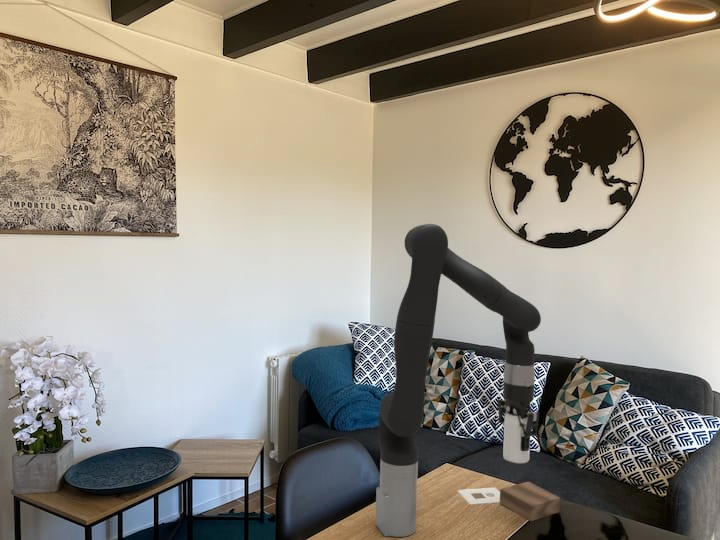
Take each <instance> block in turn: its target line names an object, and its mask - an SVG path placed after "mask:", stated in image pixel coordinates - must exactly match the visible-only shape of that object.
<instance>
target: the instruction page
mask: <svg viewBox="0 0 720 540" xmlns="http://www.w3.org/2000/svg"><path fill="white" fill-rule="evenodd" d="M456 492H458V494H459V495H460V496H461V498H463V499H464V500H465V501H466V502H467V503H468V504H469V505H470V506H473V505H485V504H500V490H499V489H497V487H495V486H494V487H482V488H471V489H469V488H467V489H458V490H456Z"/></svg>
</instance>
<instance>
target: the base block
mask: <svg viewBox="0 0 720 540" xmlns="http://www.w3.org/2000/svg"><path fill="white" fill-rule="evenodd" d="M499 491H500V503H499V504H500V505H502V506H504V507H505V508H507V509H509V510H510V511H512V512H514V513H516V514H517V515H519V516H521V517H522V518H524V519H526V520H528V521H530V522H533V521H536V520H539V519H542V518H546V517H549V516H551V515H554V514H558V513H560V511H561V510H560V509H561V497H560V496H558V495H556V494H554V493H552V492H550V491H548V490H546V489H544V488H542V487H540V486H538V485H536V484H534V483H532V482H530V481H526V482H521V483H518V484H513V485H510V486H506V487H502V488H500V490H499Z"/></svg>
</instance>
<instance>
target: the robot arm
mask: <svg viewBox="0 0 720 540" xmlns="http://www.w3.org/2000/svg"><path fill="white" fill-rule="evenodd" d="M403 244H404V248H405V251H406V253H407V254H408V256H409V257H410V258H411V267H410V276H409V281H408V285H407V288H406V290H405V292H404V295H403V297H402V300H401V302H400V305H399V309H398V312H397V316H396V322H395V329H394V336H393V337H394V338H393V340H394V341H393V344H394V345H393V348H394V350H393V351H394V359H395V360H394V361H395V372H396V373H395V374H396V376H395V382H394V383H395V384H394V390H393V391H392V392H389V393H388V394H386V395H385V396H384V398H383V399H382V400H381V403H380V406H379V411H378V445H379V449H380V464H379V468H380V469H379V486H377V487H376V494H375V495H376V496H375V521H374V522H375V526H376V527H377V528H378V530H379V531H380V532H381V533H382V534H383V536H384V537H394V538H397V537H398V538H402V537H403V538H404V537H407V536H411V535H413V534H414V533H415V532H416V528H417V504H418V503H417V502H418V501H417V500H418V499H417V498H418V497H417V496H418V471H419V470H418V469H419V468H418V467H419V448H418V445H417V441H416V437H415V436H416V435H415V434H416V433H417V432H418V431H419V430H420V428H421V426H422V424H423V421H424V413H425V389H426V380H427V379H426V378H427V371H428V366H429V359H430V354H431V350H432V349H431V348H432V342H433V336H434V330H435V322H436V314H437V305H438V299H439V297H438V296H439V286H440V281H441V277H442V275H443V276H444V277H445V278H447V279H448V280H450V281H451V282H453V283H454V284H455V285H457V286H458V287H459V288H461V289H462V290H463V291H464V292H465V293H467V294H468V295H469V296H471V298H472V299H474V300H476V301H477V302H478V303H480V304H481V305H482V306H483V307H485V308H486V309H488V310H489V311H491V312H493V313H496V314H499V315H500V316H501V317H502V329H503V334H504V341H505V344H506V346H505V360H504V361H505V364H504V370H503V386H502V387H503V391H502V397H503V399H498V401H497V408H498V423H500V424H502V427H503V428H504V420H505V416H506V414H507V413H512V414H514V415H516V416H517V418H518V422H519V427H521V451H528V450H529V447H530V448H531V437H536V436H537V433H538V427H539V421H540V413H539V412H534V411H533V410H532V408H531V407H532V406H531V403H532V402H533V401H534V397H535V377H536V375H535V373H536V372H535V345H534V343H533V341H531V340H530V337H529V336H530V335H529V333H530V332H533V331H536V329H538V328H539V326H540V325H541V322H542V317H541V314H540V313H541V312H540V311H539V310H538V308H537V307H536V306H534V304H532V303H531V302H529V301H528V300H527V299H524V298H523V297H521V296H520V295H518V294H516V293H514V292H512V291H511V290H509V288H507V287H506V286H505V285H504V284H503V283H501V282H499V280H497V279H496V278H494V277H493V276H492V275H491V274H490V273H488V272H486V271H484V270H483V269H481V268H480V267H477V266H476V265H474V264H472V263H471V262H469V261H467V260H465V259H464V258H462V257H461V256H459V255H458V254H456V253H455V252H454V251H453V250H452V249H450V248H449V239H448V235H447V232H446V231H445V230H444V229H443V227H442V226H439V224H438V225H437V224H435V223H434V224H433V223H425V224H420V225H417V226H414V227H413V228H411V229H410V230H408V232H407V233H406V235H405V237H404V243H403ZM503 414H504V415H503ZM519 416H521V417H519ZM520 418H521V419H525V418H526V419H527V424H523V423H521V420H520ZM524 426H526V431H525V430H524ZM529 443H530V444H529Z"/></svg>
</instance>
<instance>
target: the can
mask: <svg viewBox="0 0 720 540" xmlns="http://www.w3.org/2000/svg"><path fill="white" fill-rule="evenodd" d="M504 416H505V415H504ZM519 417H521V416H519ZM520 420H521V423H523V424H527V419H526V418H525V419H521V418H520ZM524 430H525V431H526V426H524ZM529 444H530V445H531V442H530V443H529ZM502 445H503V449H502V451H503V452H502V455H503V460H505V461H507V462H509V463H512V464H519V465H520V464H527V463H528V462H529V461H530V451H531V450H530V448H531V446H530V447H529V450H528V451H521V427H519V422H518V418H517V416H516V415H514V414H512V413H507V414H506V416H505V420H504V427H503V444H502Z"/></svg>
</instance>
